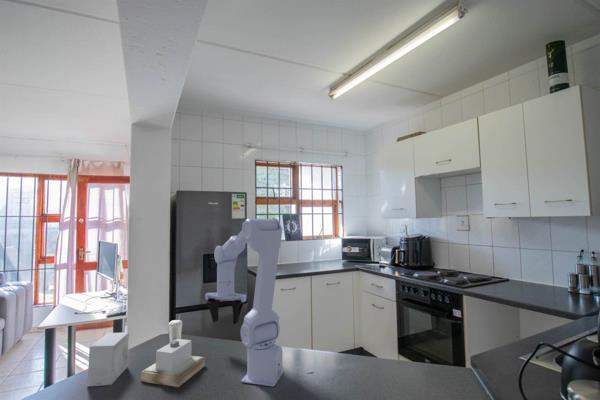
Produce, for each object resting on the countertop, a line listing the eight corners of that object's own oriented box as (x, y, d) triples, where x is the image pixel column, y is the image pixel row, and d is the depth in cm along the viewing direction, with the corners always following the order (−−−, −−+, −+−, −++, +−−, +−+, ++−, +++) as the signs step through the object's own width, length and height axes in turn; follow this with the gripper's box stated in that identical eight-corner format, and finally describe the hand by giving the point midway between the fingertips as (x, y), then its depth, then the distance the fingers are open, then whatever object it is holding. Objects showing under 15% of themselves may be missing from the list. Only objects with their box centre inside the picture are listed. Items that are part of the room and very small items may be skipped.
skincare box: (112, 385, 81) (114, 344, 82) (86, 387, 80) (88, 346, 81) (128, 366, 91) (129, 331, 92) (105, 368, 90) (106, 332, 91)
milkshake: (185, 343, 108) (185, 315, 108) (178, 350, 102) (178, 320, 103) (173, 343, 108) (173, 314, 109) (165, 349, 103) (165, 319, 104)
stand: (204, 366, 91) (204, 356, 91) (178, 387, 79) (178, 376, 80) (170, 361, 94) (170, 352, 94) (140, 381, 83) (141, 370, 83)
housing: (171, 372, 82) (171, 349, 82) (155, 369, 83) (156, 348, 84) (191, 357, 90) (191, 337, 91) (177, 355, 92) (177, 336, 92)
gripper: (250, 279, 105) (250, 319, 104) (213, 278, 109) (212, 316, 108) (241, 283, 98) (241, 326, 97) (201, 282, 102) (201, 323, 101)
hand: (225, 322), depth 102 cm, fingers open, 7 cm apart
